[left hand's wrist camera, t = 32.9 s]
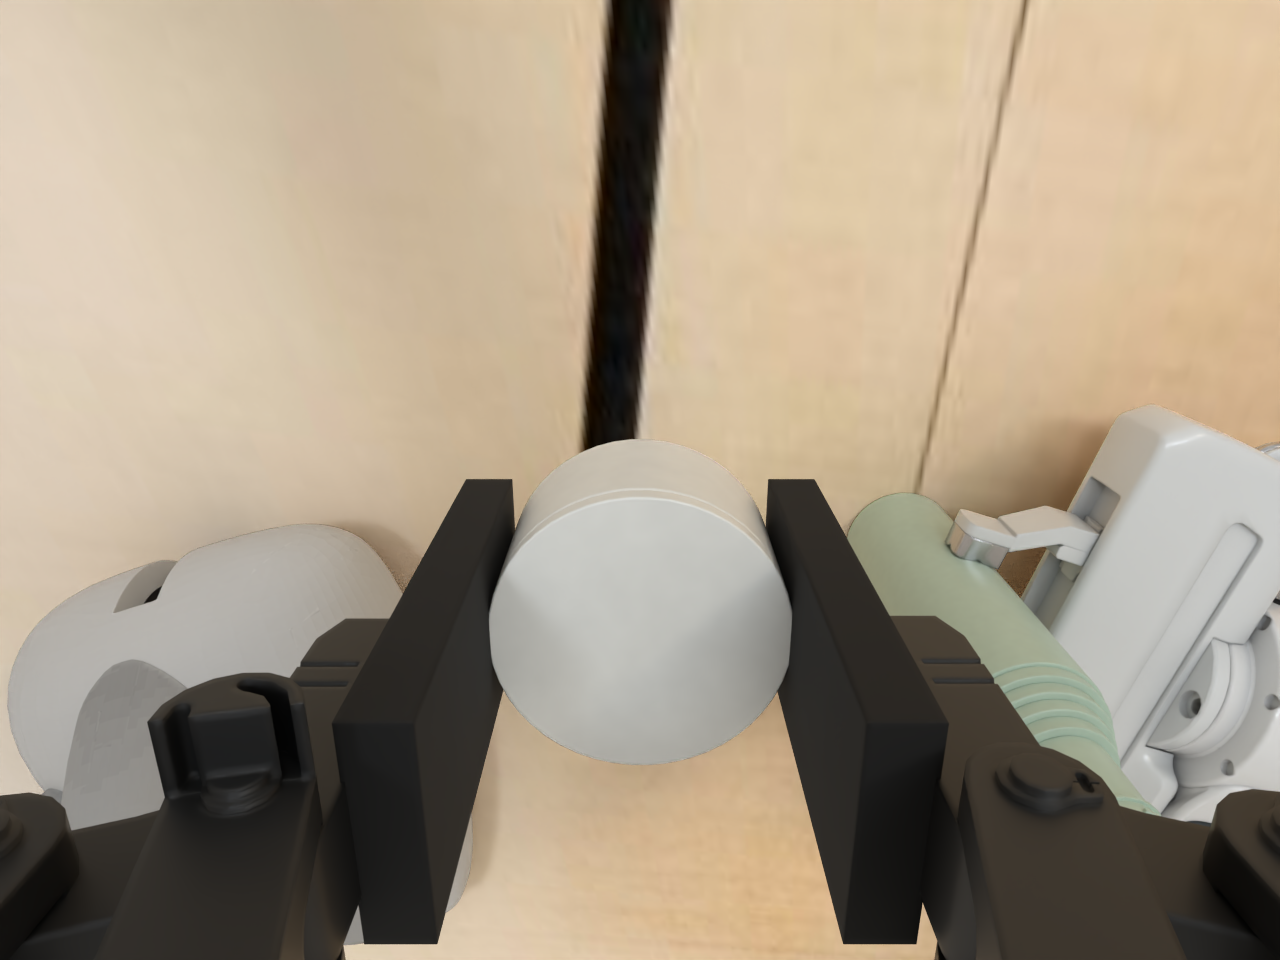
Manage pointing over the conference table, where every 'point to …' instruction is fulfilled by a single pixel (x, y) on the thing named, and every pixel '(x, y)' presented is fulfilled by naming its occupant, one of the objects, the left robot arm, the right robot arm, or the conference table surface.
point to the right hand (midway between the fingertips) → (922, 601)
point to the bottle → (990, 631)
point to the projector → (180, 658)
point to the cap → (640, 606)
